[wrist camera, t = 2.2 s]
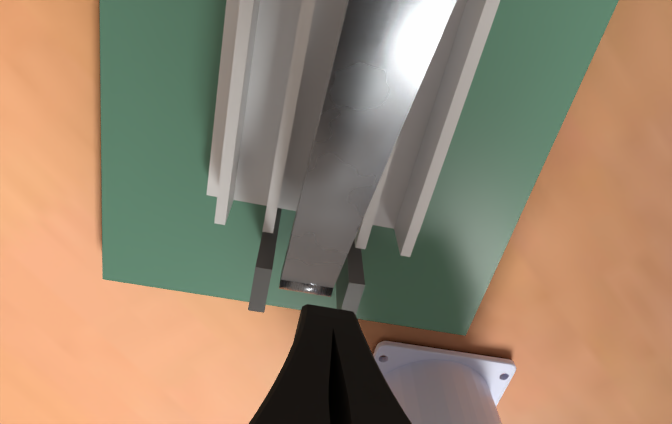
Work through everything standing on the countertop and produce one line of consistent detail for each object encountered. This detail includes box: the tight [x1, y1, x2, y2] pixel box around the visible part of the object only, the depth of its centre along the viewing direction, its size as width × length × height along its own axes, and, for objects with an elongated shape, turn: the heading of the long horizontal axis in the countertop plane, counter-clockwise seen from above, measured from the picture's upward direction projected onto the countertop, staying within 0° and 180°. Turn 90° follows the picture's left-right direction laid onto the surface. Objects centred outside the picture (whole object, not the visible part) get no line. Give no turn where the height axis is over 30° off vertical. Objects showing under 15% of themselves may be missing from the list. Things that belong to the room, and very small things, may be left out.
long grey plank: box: [279, 0, 457, 297], centre depth 14 cm, size 15×2×1 cm, turn 168°
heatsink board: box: [100, 0, 619, 336], centre depth 18 cm, size 20×18×6 cm
